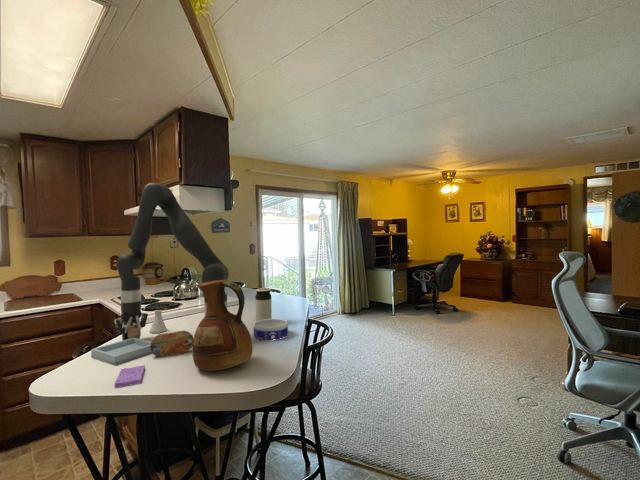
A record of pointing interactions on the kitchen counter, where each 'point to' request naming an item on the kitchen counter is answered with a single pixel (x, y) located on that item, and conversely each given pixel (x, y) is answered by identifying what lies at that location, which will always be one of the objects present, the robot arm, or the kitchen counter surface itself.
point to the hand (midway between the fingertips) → (131, 339)
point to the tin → (171, 343)
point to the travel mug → (263, 304)
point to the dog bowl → (270, 329)
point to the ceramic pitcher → (221, 330)
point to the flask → (158, 323)
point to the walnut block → (133, 332)
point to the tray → (122, 351)
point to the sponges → (130, 376)
